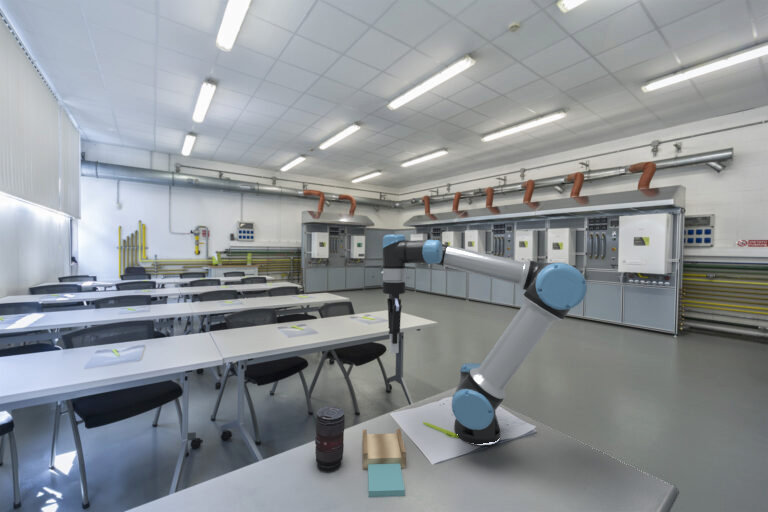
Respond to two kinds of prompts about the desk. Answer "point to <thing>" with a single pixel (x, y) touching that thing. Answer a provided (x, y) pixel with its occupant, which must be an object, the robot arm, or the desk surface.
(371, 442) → the wooden channel tray
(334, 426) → the camera lens
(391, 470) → the cover plate
